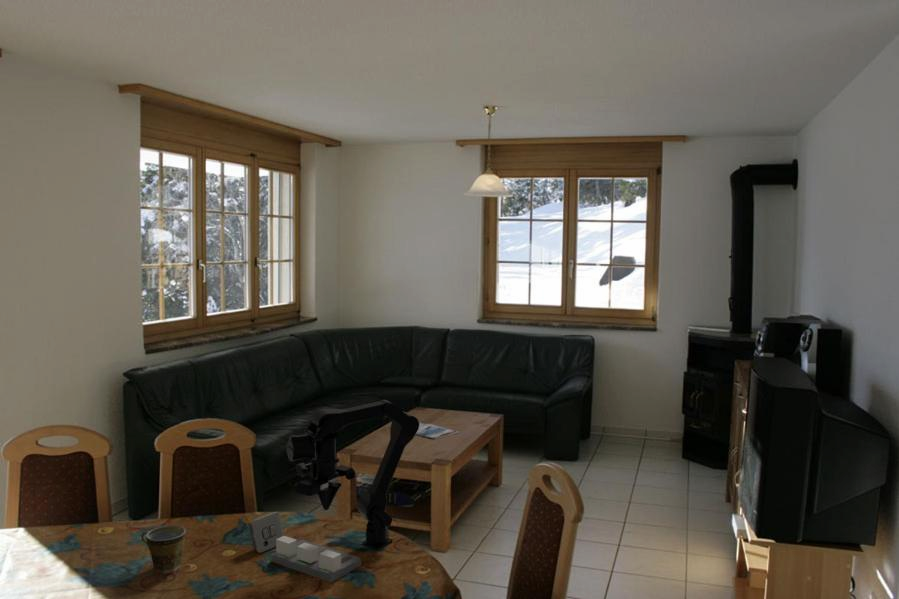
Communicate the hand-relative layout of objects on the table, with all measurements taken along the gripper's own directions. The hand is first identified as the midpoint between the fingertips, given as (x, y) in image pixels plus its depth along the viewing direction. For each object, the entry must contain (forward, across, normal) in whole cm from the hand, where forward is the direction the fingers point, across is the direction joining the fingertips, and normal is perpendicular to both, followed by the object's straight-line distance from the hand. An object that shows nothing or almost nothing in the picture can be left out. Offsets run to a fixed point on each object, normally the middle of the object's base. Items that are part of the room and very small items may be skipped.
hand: (326, 509), depth 213 cm
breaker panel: (+13, +6, +2) cm, 14 cm away
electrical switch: (+13, +6, -18) cm, 23 cm away
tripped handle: (+11, +9, +1) cm, 14 cm away
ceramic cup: (+13, +31, -31) cm, 46 cm away
